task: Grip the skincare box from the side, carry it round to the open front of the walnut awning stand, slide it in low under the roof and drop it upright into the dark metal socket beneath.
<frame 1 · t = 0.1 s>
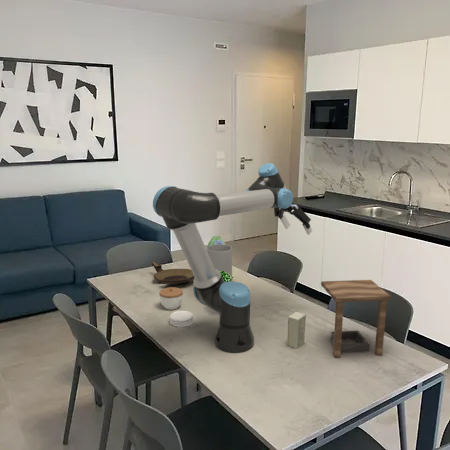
hand: (298, 229, 205), 36 cm above the table, tool tilted 35°, fingers open, 13 cm apart
cylinder vase: (219, 297, 221), on the table
brown frying pan: (173, 281, 243), on the table
skincare box: (295, 344, 174), on the table
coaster: (181, 323, 193), on the table
awning stand: (349, 344, 174), on the table
potted cactus: (217, 281, 242), on the table
lidded jar: (171, 307, 209), on the table
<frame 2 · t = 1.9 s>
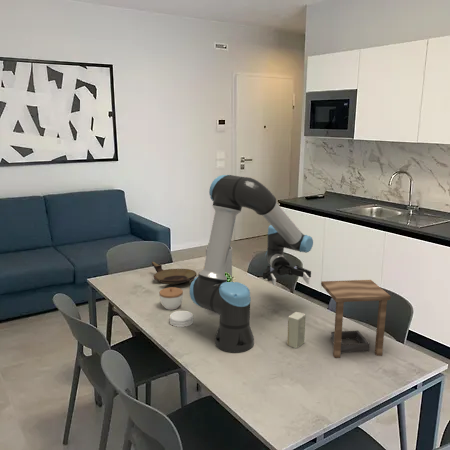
hand: (291, 281, 179), 22 cm above the table, tool horizontal, fingers open, 13 cm apart
nothing on the table moved.
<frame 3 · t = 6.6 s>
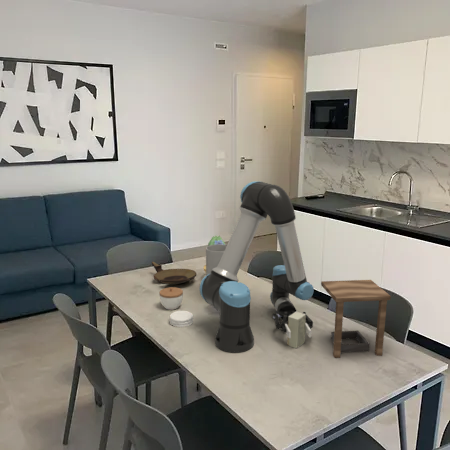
hand: (300, 334, 168), 7 cm above the table, tool horizontal, fingers closed on skincare box, 7 cm apart
skincare box: (295, 344, 174), on the table, touching gripper
everything else where it was.
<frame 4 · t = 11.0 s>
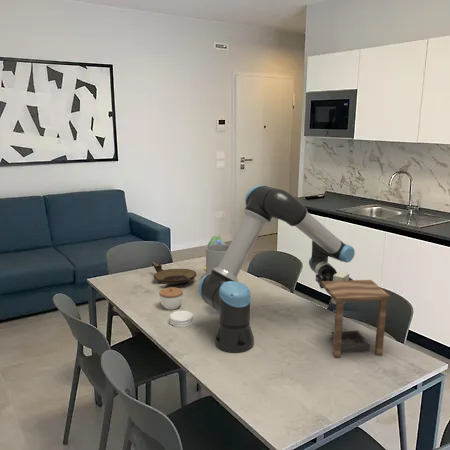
hand: (344, 291, 178), 19 cm above the table, tool horizontal, fingers closed on skincare box, 7 cm apart
skincare box: (339, 302, 184), point 12 cm above the table, touching gripper
everything else where it was.
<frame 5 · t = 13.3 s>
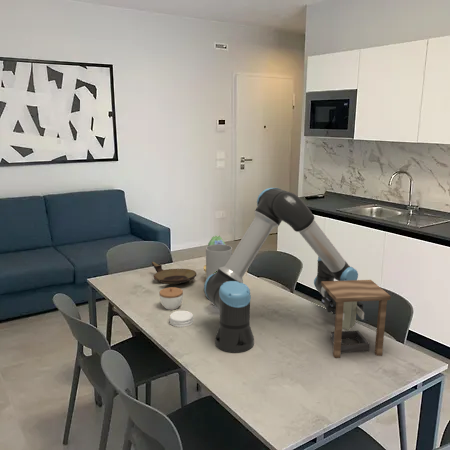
hand: (353, 316, 171), 12 cm above the table, tool horizontal, fingers closed on skincare box, 7 cm apart
skincare box: (347, 327, 178), point 5 cm above the table, touching gripper
everything else where it was.
when the fingers open (8 cm above the table, at t = 15.5 s): skincare box drops 2 cm, resting in awning stand.
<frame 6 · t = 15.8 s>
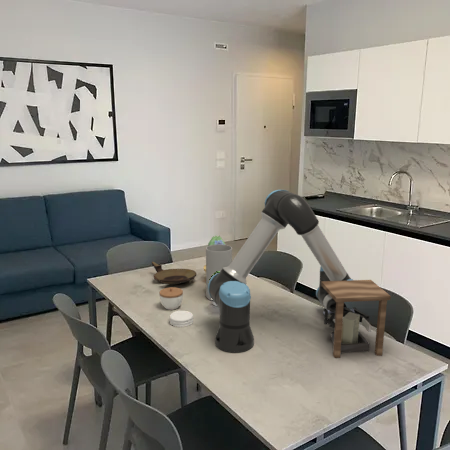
hand: (354, 329, 168), 8 cm above the table, tool horizontal, fingers open, 11 cm apart
skincare box: (349, 345, 174), resting in awning stand
everything else where it was.
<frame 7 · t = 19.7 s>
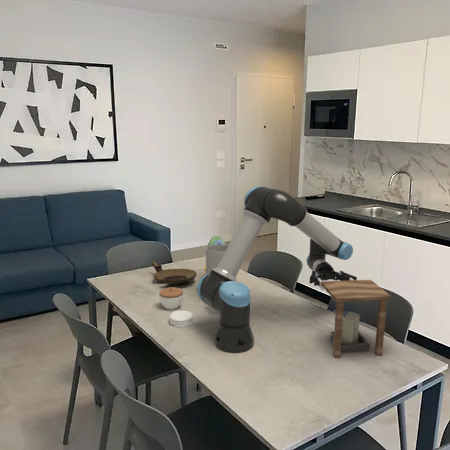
hand: (339, 286, 181), 19 cm above the table, tool horizontal, fingers open, 13 cm apart
nothing on the table moved.
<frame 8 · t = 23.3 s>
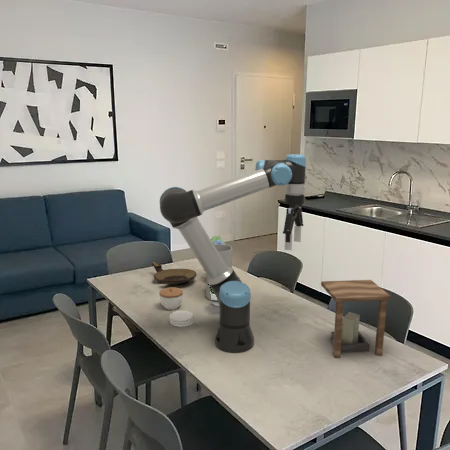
hand: (292, 245, 183), 35 cm above the table, tool pointing down, fingers open, 13 cm apart
nothing on the table moved.
at the end: skincare box 0.1 cm off-centre on the awning stand, point 0.0 cm above the awning stand's base; skincare box tilted 0°; the gripper is holding nothing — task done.
